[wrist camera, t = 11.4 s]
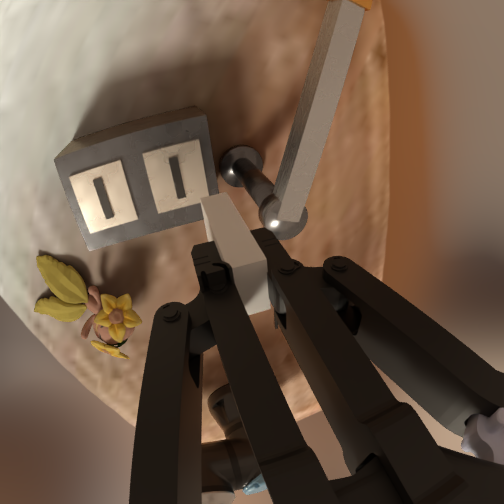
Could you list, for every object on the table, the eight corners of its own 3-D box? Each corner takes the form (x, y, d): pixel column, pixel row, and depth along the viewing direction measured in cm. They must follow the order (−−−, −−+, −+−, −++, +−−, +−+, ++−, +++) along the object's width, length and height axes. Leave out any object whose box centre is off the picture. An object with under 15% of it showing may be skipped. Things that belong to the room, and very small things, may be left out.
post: (262, 180, 37) (300, 222, 28) (222, 188, 36) (249, 235, 27) (258, 141, 34) (299, 173, 25) (216, 149, 33) (243, 184, 24)
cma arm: (252, 225, 26) (261, 240, 24) (325, -28, 15) (342, -34, 13) (289, 229, 27) (301, 243, 26) (362, -9, 16) (381, -12, 14)
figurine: (36, 248, 31) (102, 331, 28) (90, 235, 40) (159, 302, 36) (33, 315, 36) (91, 391, 33) (78, 298, 45) (137, 361, 41)
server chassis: (209, 188, 35) (223, 216, 30) (97, 218, 33) (88, 254, 27) (195, 105, 29) (207, 115, 24) (71, 140, 27) (52, 161, 21)
